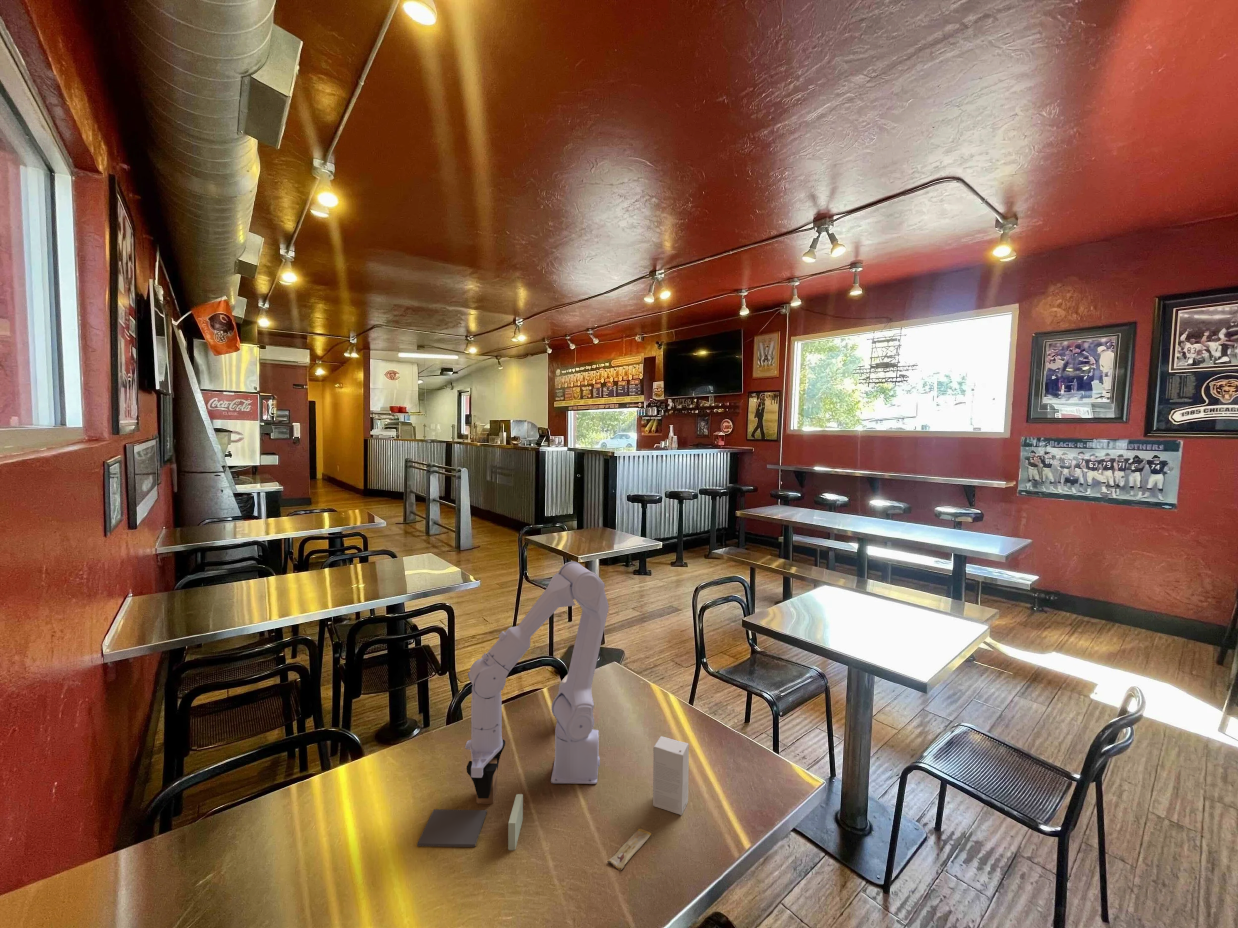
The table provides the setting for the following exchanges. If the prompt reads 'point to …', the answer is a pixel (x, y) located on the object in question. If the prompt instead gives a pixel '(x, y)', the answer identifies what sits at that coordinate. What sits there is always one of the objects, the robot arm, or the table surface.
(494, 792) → the oak push block
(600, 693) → the table surface
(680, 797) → the skincare box
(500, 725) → the robot arm
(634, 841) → the snack bar
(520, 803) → the sage tile
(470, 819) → the mat
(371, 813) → the table surface
